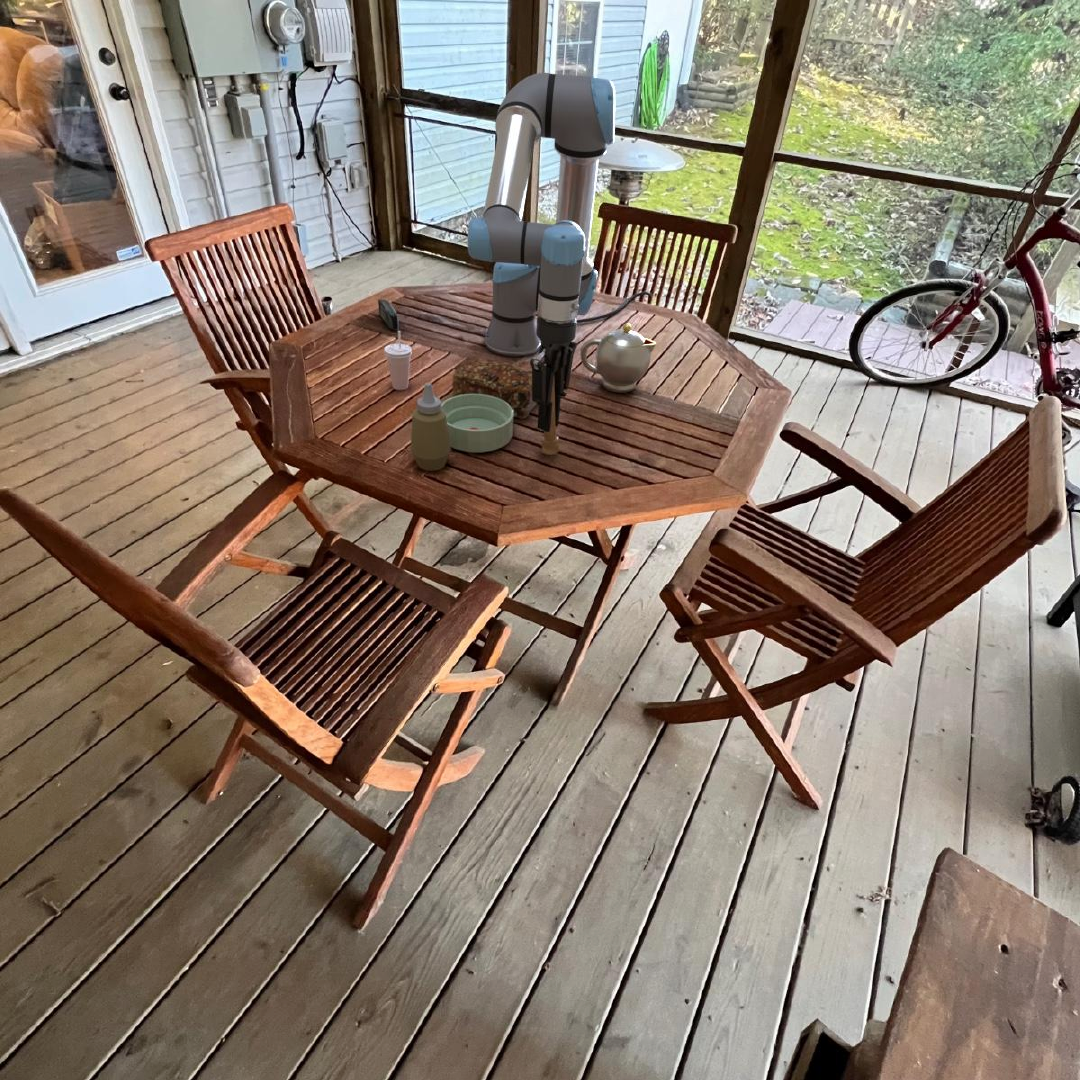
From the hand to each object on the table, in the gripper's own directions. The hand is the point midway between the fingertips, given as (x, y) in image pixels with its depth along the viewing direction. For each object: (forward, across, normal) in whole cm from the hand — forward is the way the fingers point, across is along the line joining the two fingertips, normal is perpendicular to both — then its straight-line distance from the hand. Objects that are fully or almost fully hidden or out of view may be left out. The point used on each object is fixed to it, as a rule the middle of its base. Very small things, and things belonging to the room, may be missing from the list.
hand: (547, 426), depth 143 cm
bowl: (+7, -4, +16) cm, 18 cm away
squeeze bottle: (+7, -19, +16) cm, 25 cm away
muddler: (+6, 0, -1) cm, 6 cm away
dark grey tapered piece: (+7, +28, +72) cm, 78 cm away
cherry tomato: (+4, -8, +14) cm, 16 cm away
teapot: (+7, +38, +5) cm, 39 cm away
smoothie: (+7, +2, +44) cm, 45 cm away
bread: (+7, +10, +21) cm, 25 cm away
